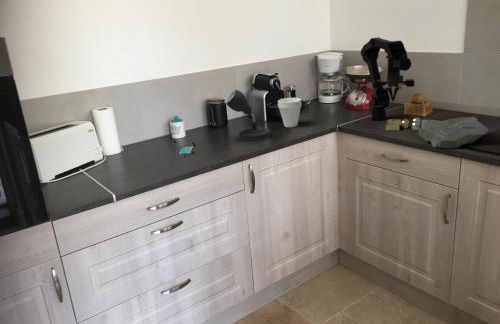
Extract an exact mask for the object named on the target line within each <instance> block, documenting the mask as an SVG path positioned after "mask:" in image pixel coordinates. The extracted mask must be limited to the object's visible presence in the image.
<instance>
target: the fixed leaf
mask: <svg viewBox="0 0 500 324" xmlns="http://www.w3.org/2000/svg"><path fill="white" fill-rule="evenodd" d="M429 121H436V120H435V119H421V118H420V117H414V118H413V119H412V124H411V129H412V130H413V131H414V132H415V131H416V132H417V131H419V130H420V129H421V128H422V127H423V125H424V123H426V122H429Z"/></svg>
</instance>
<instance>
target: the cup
mask: <svg viewBox="0 0 500 324" xmlns="http://www.w3.org/2000/svg"><path fill="white" fill-rule="evenodd" d="M277 107H278V109H279V112H280V116H281V119H282V122H283V126H284V127H286V128H294V127H295V128H296V127H297V126H298V124H299V118H300V112H301V107H302V98H301V97H287V98H286V97H285V98H281V99H278V100H277Z"/></svg>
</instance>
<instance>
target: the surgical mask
mask: <svg viewBox="0 0 500 324" xmlns="http://www.w3.org/2000/svg"><path fill="white" fill-rule="evenodd" d="M172 141H173V142H174V143H175V144H177V141H176V139H173V140H172ZM191 144H192V145H193V146H185V147H184V148H183V147H181V148H180V151H179V153H178V155H183V157H184V158H186V157H187V156H188V155H189V154H191V153H192V155H195V152H194V151H192V150H193V149H192V148H194V146H196V144H195V142H194V141H192V142H191Z"/></svg>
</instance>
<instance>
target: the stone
mask: <svg viewBox="0 0 500 324" xmlns="http://www.w3.org/2000/svg"><path fill="white" fill-rule="evenodd" d="M417 131H418V136H419V137H420V138H422V139H423V140H424V142H430V143H431V147H433V148H439V149H440V148H441V149H455V148H459V147H461V146H463V145H466V144H472V143H471V142H473V143H475V142H476V141H477V140H478V139H479V138H481V137H483V136H485V135H488V134H489V131H490V130H489V128H487V126H485V125H484V124H483V123H481V122H480V121H479V119H478V118H476V117H475V116H463V117H462V116H460V117H455V118H449V119H445V120H435V121H429V122H426V123H424V125H423V127H422V128H421V127H420V129H419V130H417Z"/></svg>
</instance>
